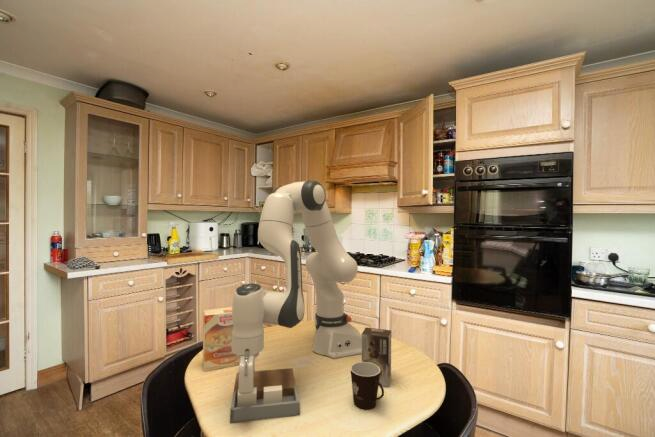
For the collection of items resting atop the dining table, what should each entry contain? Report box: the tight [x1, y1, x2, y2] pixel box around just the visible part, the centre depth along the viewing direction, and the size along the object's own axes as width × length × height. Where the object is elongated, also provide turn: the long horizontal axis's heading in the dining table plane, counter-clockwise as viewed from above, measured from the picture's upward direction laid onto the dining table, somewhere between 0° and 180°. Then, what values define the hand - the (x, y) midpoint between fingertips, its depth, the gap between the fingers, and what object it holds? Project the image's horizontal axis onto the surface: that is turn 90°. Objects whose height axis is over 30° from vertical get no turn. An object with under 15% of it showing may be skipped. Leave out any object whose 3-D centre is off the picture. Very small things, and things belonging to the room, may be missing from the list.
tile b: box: [237, 387, 257, 407], centre depth 86 cm, size 5×5×2 cm
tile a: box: [264, 385, 282, 404], centre depth 88 cm, size 5×5×2 cm
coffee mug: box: [349, 361, 385, 411], centre depth 89 cm, size 12×9×10 cm
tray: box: [229, 385, 301, 424], centre depth 87 cm, size 18×8×4 cm, turn 102°
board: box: [233, 367, 297, 401], centre depth 97 cm, size 18×12×3 cm, turn 102°
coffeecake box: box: [202, 306, 240, 372], centre depth 114 cm, size 15×7×20 cm, turn 115°
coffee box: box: [361, 327, 392, 388], centre depth 104 cm, size 9×6×16 cm
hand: (247, 391), depth 89 cm, fingers closed
